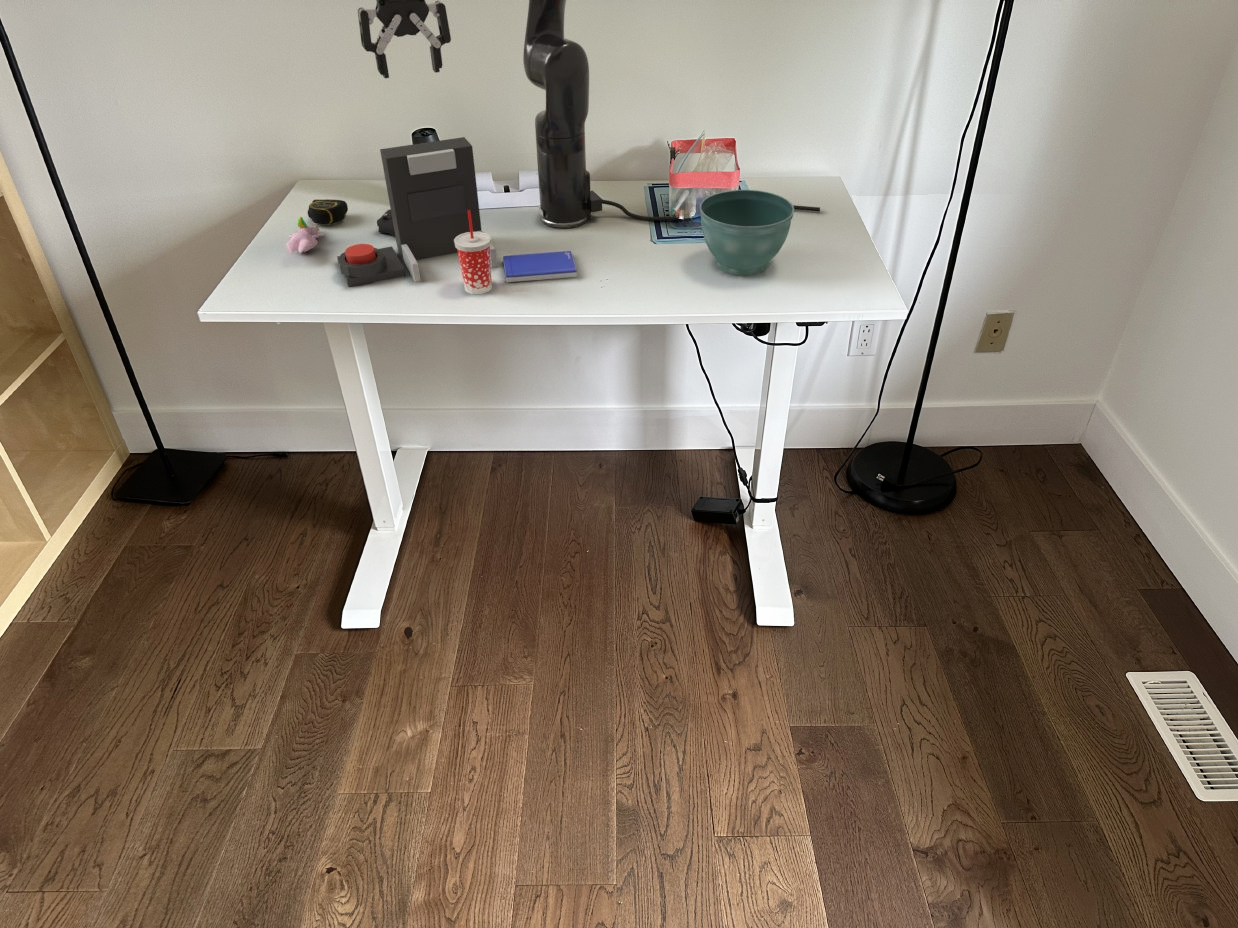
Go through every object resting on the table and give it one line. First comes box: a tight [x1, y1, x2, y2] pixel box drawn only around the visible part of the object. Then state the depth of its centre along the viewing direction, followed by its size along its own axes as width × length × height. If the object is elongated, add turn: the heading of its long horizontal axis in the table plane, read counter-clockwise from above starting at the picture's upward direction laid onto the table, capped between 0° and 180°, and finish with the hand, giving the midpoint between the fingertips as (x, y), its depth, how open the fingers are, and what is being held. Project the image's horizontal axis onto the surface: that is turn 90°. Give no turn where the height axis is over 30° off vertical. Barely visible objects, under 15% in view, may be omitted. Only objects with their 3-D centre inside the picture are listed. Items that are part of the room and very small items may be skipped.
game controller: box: [376, 208, 396, 237], centre depth 168 cm, size 10×5×6 cm
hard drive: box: [502, 250, 578, 283], centre depth 154 cm, size 2×8×12 cm
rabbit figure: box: [285, 216, 324, 255], centre depth 160 cm, size 6×6×15 cm
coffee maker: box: [379, 136, 498, 283], centre depth 153 cm, size 15×14×19 cm
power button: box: [344, 243, 376, 264], centre depth 151 cm, size 5×5×2 cm
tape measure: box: [307, 198, 349, 226], centre depth 171 cm, size 7×7×4 cm
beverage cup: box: [454, 210, 493, 295], centre depth 145 cm, size 6×6×14 cm
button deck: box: [336, 246, 406, 288], centre depth 154 cm, size 10×10×4 cm
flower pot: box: [699, 189, 795, 276], centre depth 153 cm, size 16×16×11 cm
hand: (411, 74), depth 145 cm, fingers open, 8 cm apart
